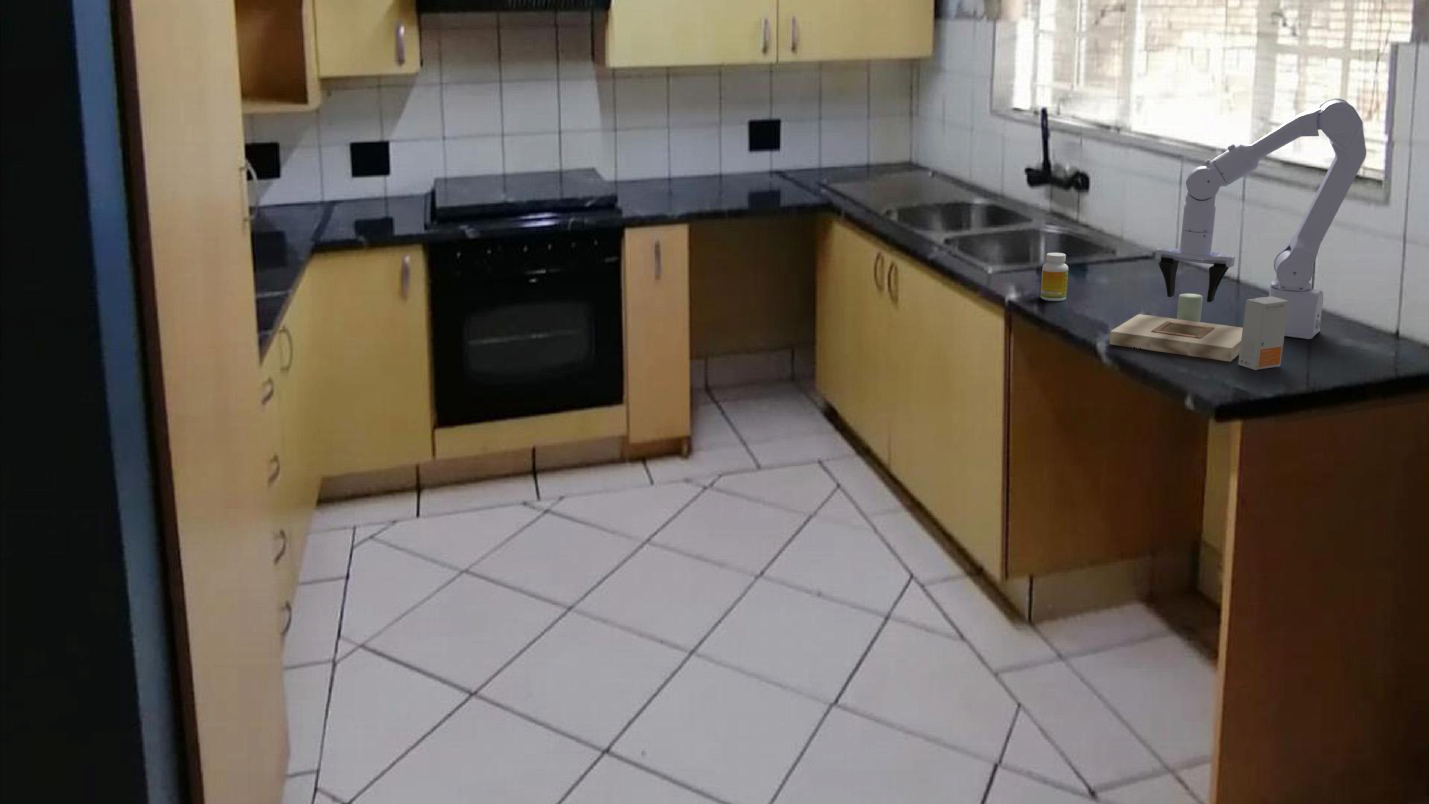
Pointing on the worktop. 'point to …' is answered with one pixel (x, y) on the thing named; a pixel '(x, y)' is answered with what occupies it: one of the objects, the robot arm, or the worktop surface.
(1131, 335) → the hole plate
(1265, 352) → the skincare box
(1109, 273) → the worktop surface
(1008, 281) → the worktop surface
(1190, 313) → the green peg
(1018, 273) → the worktop surface
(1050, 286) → the supplement bottle
